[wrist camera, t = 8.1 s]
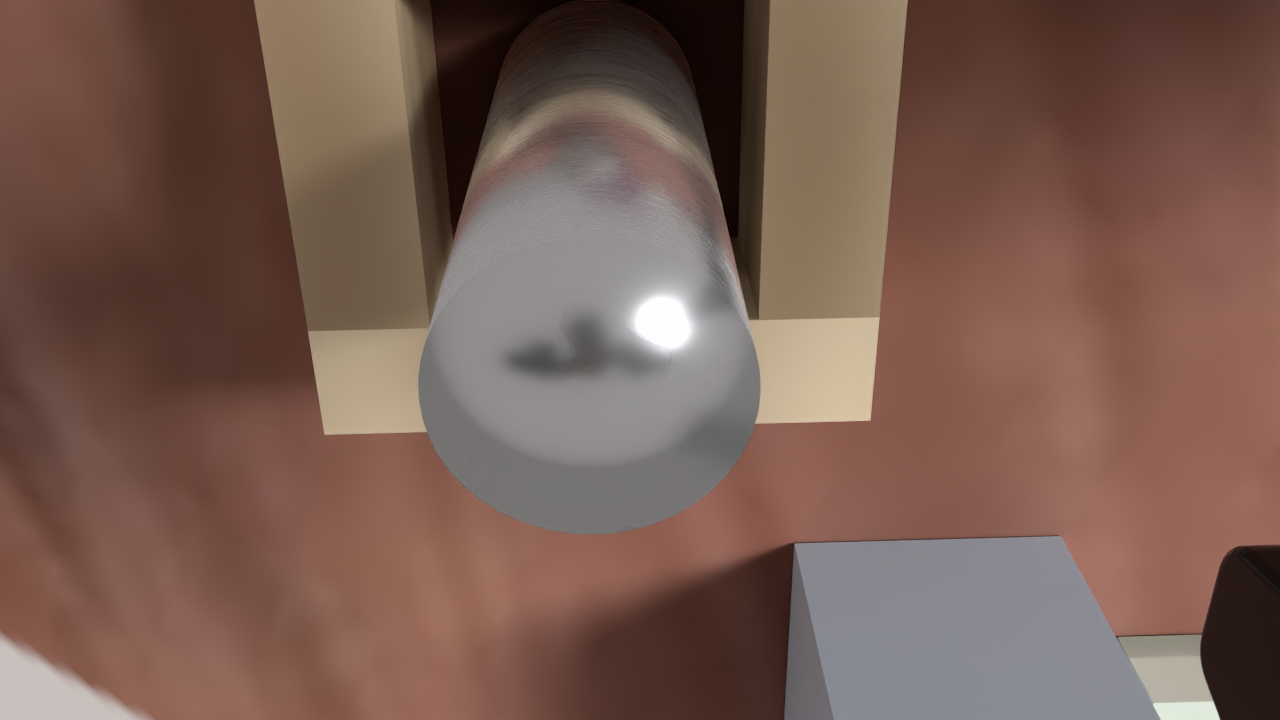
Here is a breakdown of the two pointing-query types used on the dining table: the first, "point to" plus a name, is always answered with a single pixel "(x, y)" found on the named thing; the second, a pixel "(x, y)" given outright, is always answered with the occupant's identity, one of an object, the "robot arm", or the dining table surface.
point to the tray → (1171, 675)
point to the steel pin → (591, 289)
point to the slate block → (952, 634)
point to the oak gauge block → (420, 210)
